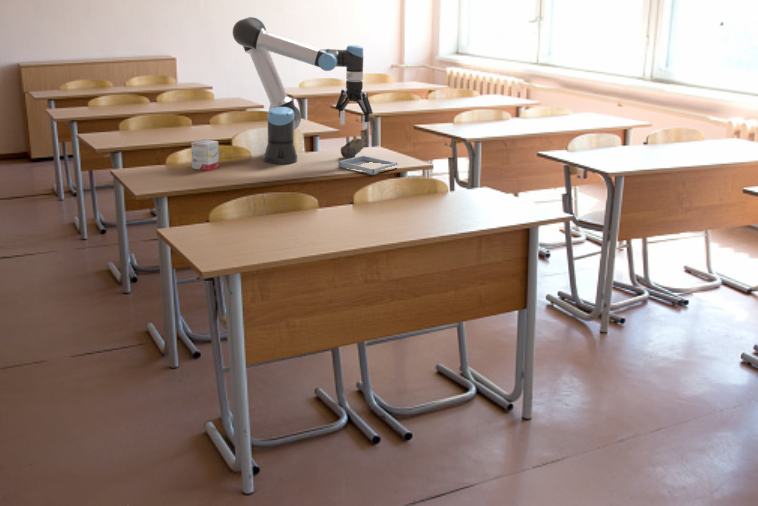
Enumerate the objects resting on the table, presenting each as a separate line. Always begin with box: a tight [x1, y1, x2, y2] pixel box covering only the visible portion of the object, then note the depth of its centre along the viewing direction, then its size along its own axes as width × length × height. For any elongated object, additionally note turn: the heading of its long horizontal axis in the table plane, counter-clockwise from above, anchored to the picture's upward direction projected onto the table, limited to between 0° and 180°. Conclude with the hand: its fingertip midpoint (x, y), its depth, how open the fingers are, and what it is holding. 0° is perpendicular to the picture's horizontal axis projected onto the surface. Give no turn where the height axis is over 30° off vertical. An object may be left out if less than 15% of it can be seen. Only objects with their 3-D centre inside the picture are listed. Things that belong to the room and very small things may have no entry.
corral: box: [338, 155, 398, 176], centre depth 376 cm, size 20×18×3 cm
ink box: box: [190, 138, 220, 171], centre depth 362 cm, size 9×9×12 cm
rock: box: [340, 137, 365, 159], centre depth 391 cm, size 11×10×10 cm
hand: (353, 126), depth 388 cm, fingers open, 13 cm apart
